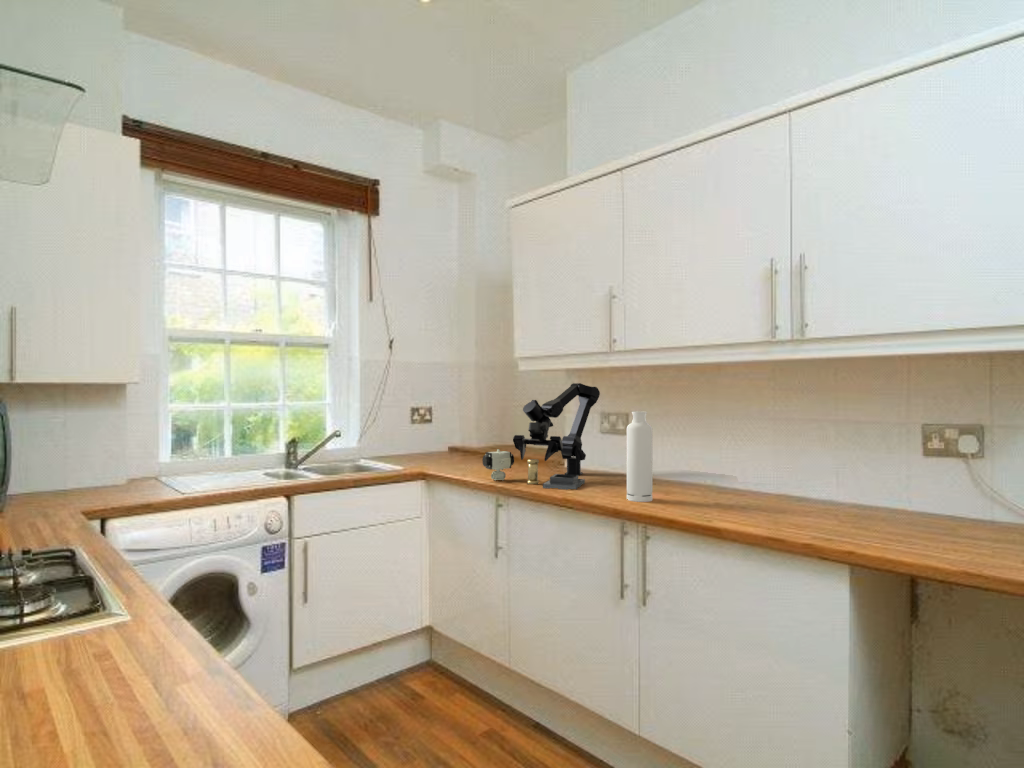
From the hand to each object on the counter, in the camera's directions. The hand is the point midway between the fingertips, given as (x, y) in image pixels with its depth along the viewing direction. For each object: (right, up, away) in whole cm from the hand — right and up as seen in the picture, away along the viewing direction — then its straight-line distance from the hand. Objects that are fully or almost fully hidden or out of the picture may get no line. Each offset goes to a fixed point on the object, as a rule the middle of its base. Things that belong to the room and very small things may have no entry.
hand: (533, 459), depth 214 cm
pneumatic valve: (-13, -9, +8) cm, 18 cm away
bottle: (+33, -9, -32) cm, 47 cm away
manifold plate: (+11, -9, -5) cm, 15 cm away
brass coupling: (0, -9, -1) cm, 9 cm away
